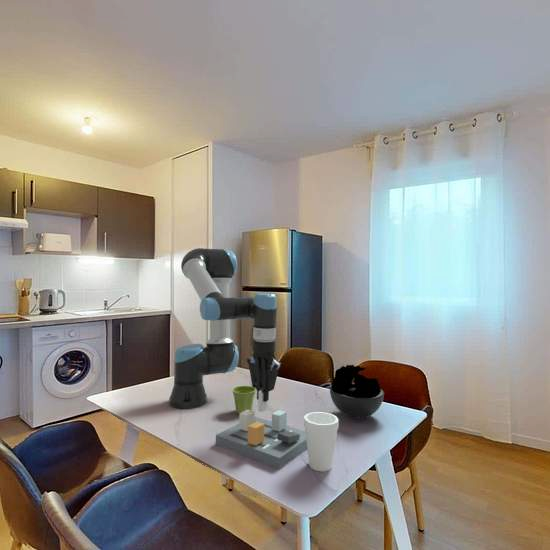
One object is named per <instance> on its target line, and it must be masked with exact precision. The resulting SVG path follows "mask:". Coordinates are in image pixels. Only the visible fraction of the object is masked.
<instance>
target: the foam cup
mask: <svg viewBox="0 0 550 550" xmlns="http://www.w3.org/2000/svg"><path fill="white" fill-rule="evenodd" d="M303 426H304V431H305V433H306V442H307V449H306V450H307V457H308V458H307V459H308V465H309V467H310V469H312V470H314V471H318V472H327V471H330V470H332V467H333V463H334V458H335V457H334V456H335V449H336V442H337V435H338V430H339V418H338V417H337V415H334V414H333V413H330V412H321V411H314V412H309V413H307V414H306V413H305V415H304V416H303Z"/></svg>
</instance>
